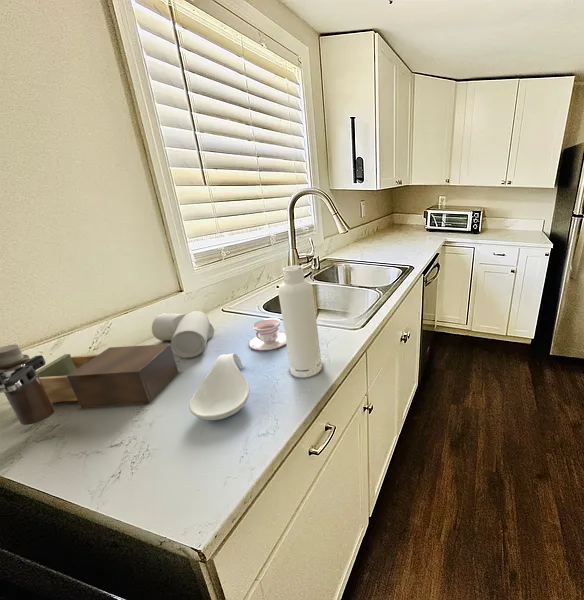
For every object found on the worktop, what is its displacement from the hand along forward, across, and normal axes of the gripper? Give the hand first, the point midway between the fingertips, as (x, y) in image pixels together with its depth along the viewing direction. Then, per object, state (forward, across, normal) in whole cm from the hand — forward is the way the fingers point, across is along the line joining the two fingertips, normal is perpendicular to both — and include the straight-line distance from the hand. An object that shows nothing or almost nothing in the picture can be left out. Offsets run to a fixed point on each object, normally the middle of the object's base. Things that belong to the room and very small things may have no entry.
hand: (26, 360), depth 64 cm
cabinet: (+11, -9, +15) cm, 20 cm away
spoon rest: (+6, -33, +15) cm, 37 cm away
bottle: (+15, -50, +15) cm, 54 cm away
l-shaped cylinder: (+32, -11, +15) cm, 37 cm away
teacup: (+32, -36, +15) cm, 50 cm away
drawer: (+11, +4, +14) cm, 18 cm away
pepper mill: (-3, 0, +12) cm, 12 cm away
